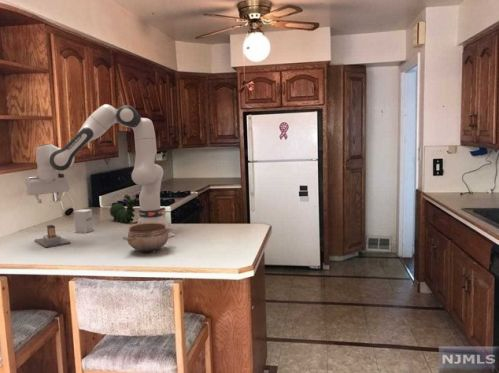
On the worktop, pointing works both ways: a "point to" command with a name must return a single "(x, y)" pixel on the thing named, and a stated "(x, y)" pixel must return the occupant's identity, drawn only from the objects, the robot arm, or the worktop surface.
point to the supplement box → (83, 221)
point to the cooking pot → (147, 236)
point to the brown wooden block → (51, 231)
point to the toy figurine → (123, 211)
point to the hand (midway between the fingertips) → (49, 201)
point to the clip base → (51, 241)
